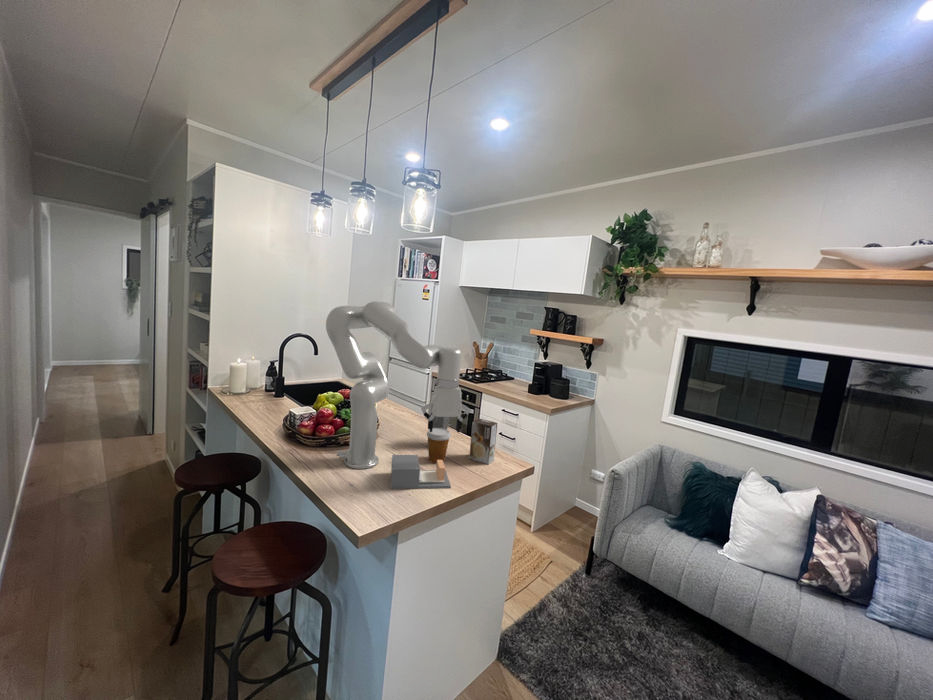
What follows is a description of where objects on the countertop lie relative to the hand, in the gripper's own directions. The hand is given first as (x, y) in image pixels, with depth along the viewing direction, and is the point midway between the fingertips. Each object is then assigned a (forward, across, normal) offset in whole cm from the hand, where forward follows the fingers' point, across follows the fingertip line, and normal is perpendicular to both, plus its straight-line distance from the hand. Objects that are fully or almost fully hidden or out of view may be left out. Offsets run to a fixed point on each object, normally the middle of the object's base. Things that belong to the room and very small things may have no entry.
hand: (444, 431), depth 131 cm
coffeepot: (+18, +4, +33) cm, 38 cm away
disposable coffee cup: (+18, +1, +17) cm, 25 cm away
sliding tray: (+17, -8, 0) cm, 19 cm away
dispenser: (+18, -7, 0) cm, 19 cm away
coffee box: (+18, +20, +18) cm, 32 cm away
